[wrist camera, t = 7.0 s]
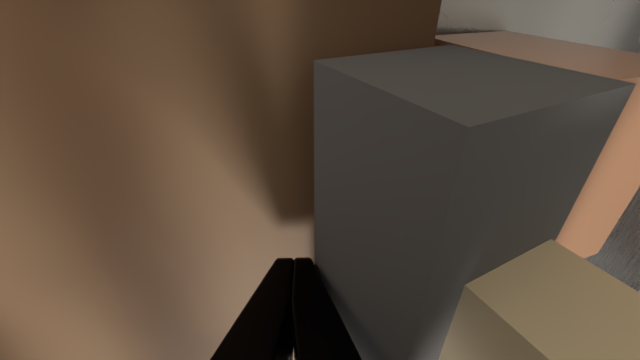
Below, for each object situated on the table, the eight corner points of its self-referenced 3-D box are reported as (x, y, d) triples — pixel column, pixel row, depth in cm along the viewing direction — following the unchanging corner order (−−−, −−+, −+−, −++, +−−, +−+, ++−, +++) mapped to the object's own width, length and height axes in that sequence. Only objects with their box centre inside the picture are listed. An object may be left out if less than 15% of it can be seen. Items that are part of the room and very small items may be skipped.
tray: (367, 331, 16) (378, 399, 13) (433, -160, 7) (506, -238, 4) (534, 328, 16) (576, 395, 14) (814, -154, 7) (1098, -227, 4)
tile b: (513, 285, 6) (597, 252, 7) (609, 81, 4) (713, 65, 5) (400, 183, 10) (468, 168, 10) (423, 36, 8) (506, 30, 8)
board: (19, 303, 14) (-44, 375, 12) (-223, -23, 8) (-481, -21, 5) (365, 297, 15) (376, 366, 12) (402, -19, 8) (444, -17, 6)
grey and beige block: (315, 387, 10) (421, 602, 7) (313, 60, 5) (774, 261, 2) (390, 344, 12) (513, 509, 8) (451, 44, 6) (888, 137, 3)
